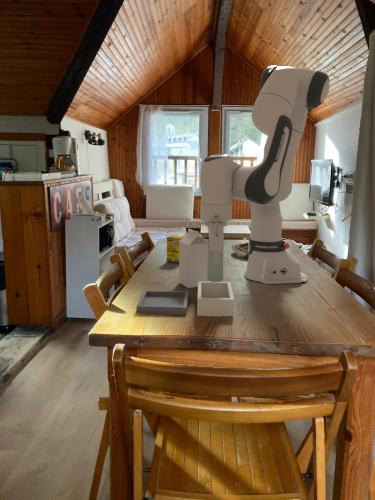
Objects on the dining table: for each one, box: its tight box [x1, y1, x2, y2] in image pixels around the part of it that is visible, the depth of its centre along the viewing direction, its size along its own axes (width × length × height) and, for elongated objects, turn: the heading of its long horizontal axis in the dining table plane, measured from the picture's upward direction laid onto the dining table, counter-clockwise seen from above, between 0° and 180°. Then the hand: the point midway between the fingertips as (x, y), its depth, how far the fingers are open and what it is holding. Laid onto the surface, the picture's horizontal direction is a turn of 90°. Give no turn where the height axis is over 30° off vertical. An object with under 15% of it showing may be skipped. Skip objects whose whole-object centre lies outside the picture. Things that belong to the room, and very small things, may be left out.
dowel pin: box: [207, 239, 224, 282], centre depth 113 cm, size 4×4×12 cm
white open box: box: [196, 280, 235, 317], centre depth 116 cm, size 10×16×5 cm, turn 178°
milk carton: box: [178, 228, 208, 289], centre depth 134 cm, size 7×7×19 cm
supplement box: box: [166, 234, 185, 265], centre depth 165 cm, size 6×6×11 cm
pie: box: [231, 242, 249, 260], centre depth 179 cm, size 28×27×5 cm
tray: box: [136, 289, 189, 315], centre depth 116 cm, size 14×14×2 cm
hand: (215, 261), depth 113 cm, fingers closed on dowel pin, 4 cm apart
